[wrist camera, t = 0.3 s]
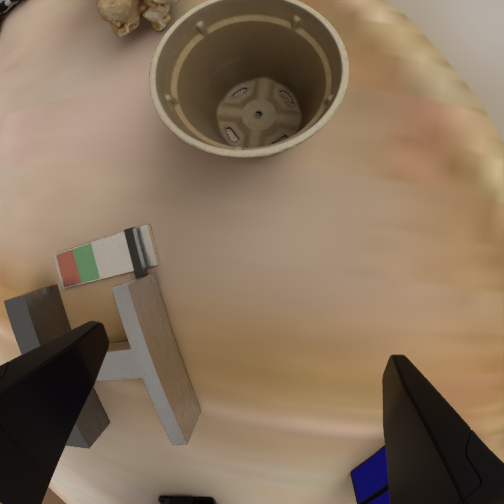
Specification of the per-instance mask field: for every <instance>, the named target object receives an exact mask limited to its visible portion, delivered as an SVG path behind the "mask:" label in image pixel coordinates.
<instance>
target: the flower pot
mask: <svg viewBox="0 0 504 504" xmlns="http://www.w3.org/2000/svg"><path fill="white" fill-rule="evenodd" d="M348 78H349V63H348V58H347V52H346V49H345V47H344V44H343V42H342V40H341V38H340V36H339V35H338V33H337V32H336V30H335V29H334V28H333V27H332V25H331V24H330V23H329V22H328V21H327V19H325V18H324V17H323V16H322V15H320V14H319V13H318V12H317V11H315V10H314V9H312V8H311V7H309V6H308V5H306V4H304V3H302V2H300V1H297V0H208V1H206V2H203V3H201V4H199V5H198V6H196V7H194V8H192V9H191V10H190V11H188V12H187V13H186V14H184V15H183V16H182V17H181V18H179V19H178V20H177V21H176V22H175V23H174V24H173V25H172V26H171V27H170V28H169V29H168V31H167V32H166V33H165V34H164V36H163V38H162V39H161V40H160V42H159V44H158V46H157V48H156V51H155V53H154V56H153V58H152V62H151V67H150V73H149V87H150V94H151V98H152V100H153V104H154V106H155V109H156V111H157V113H158V115H159V116H160V118H161V119H162V121H163V122H164V124H165V125H166V126H167V127H168V128H169V129H170V130H171V131H172V132H173V133H174V134H175V135H176V136H178V137H179V138H180V139H182V140H183V141H185V142H186V143H188V144H190V145H191V146H193V147H195V148H197V149H200V150H202V151H205V152H208V153H211V154H215V155H219V156H225V157H234V158H251V157H269V156H273V155H276V154H278V153H280V152H282V151H285V150H287V149H290V148H292V147H294V146H296V145H298V144H300V143H302V142H304V141H306V140H307V139H309V138H310V137H312V136H313V135H314V134H316V133H317V132H318V131H319V130H320V129H321V128H323V127H324V126H325V125H326V123H327V122H328V121H329V120H330V119H331V118H332V117H333V115H334V114H335V113H336V111H337V109H338V108H339V106H340V104H341V102H342V100H343V98H344V95H345V92H346V88H347V84H348ZM243 88H247V90H246V91H245V92H243V93H242V95H239V96H237V97H234V96H233V95H234V94H235V93H236V92H238V91H239V90H241V89H243ZM282 90H283V91H285V92H287V93H288V94H289V95H290V96H291V97H292V99H293V103H292V104H290V103H289V102H288V101H287V99H286V98H285V97H284V96H283V95H282V94H281V93H280V92H281V91H282ZM256 112H261V113H262V115H261V116H260V117H259V116H256ZM229 127H230V128H231V129H232V130H233V131H234V133H235V134H236V136H237V137H239V139H238V141H236V142H233V141H231V139H230V138H229V136H228V134H227V132H226V128H229ZM284 135H285V136H287V138H286V139H285V140H283V141H280V142H278V143H275V144H272V143H273V142H275V141H277V140H279V139H280V138H281V137H282V136H284Z"/></svg>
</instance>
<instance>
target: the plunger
mask: <svg viewBox="0 0 504 504" xmlns="http://www.w3.org/2000/svg"><path fill="white" fill-rule="evenodd" d="M124 233H125V237H126V241H127V245H128V249H129V253H130V257H131V261H132V265H133V269H134V272H135V276H136V278H135V279H132V280H130V281H128V282H126V283H123V284H121V285H119V286H117V287H114V288H112V291H113V295H114V298H115V301H116V305H117V308H118V311H119V314H120V317H121V320H122V324H123V327H124V330H125V332H126V335H127V338H128V341H124V342H117V343H110V344H109V348H108V351H107V353H106V356H105V358H104V361H103V363H102V366H101V369H100V371H99V374H98V377H97V379H96V381H111V380H125V379H137V378H143V381H144V383H145V386H146V388H147V391H148V393H149V395H150V398H151V400H152V402H153V405H154V407H155V409H156V412H157V414H158V416H159V418H160V420H161V423H162V425H163V427H164V429H165V431H166V433H167V435H168V437H169V439H170V442H171V444H172V445H187V444H188V442H189V439H190V437H191V434H192V432H193V430H194V427H195V425H196V422H197V420H198V418H199V415H200V413H201V411H200V408H199V406H198V403H197V400H196V398H195V395H194V393H193V390H192V387H191V385H190V382H189V379H188V376H187V374H186V371H185V368H184V365H183V362H182V359H181V356H180V354H179V351H178V348H177V345H176V342H175V339H174V336H173V333H172V329H171V326H170V323H169V320H168V317H167V313H166V310H165V307H164V304H163V300H162V297H161V293H160V290H159V286H158V283H157V279H156V276H155V273H151V274H148V273H147V270H146V266H145V262H144V258H143V255H142V251H141V247H140V243H139V239H138V235H137V230H136V227H133V228H129V229H126V230H124Z"/></svg>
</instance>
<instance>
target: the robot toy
mask: <svg viewBox="0 0 504 504" xmlns="http://www.w3.org/2000/svg"><path fill="white" fill-rule="evenodd" d="M19 1H20V0H0V14H2V13H6V12H7V11H8V10H9V9H10V8H11V7H12V6H13V5H15V4H17V3H18V2H19Z"/></svg>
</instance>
